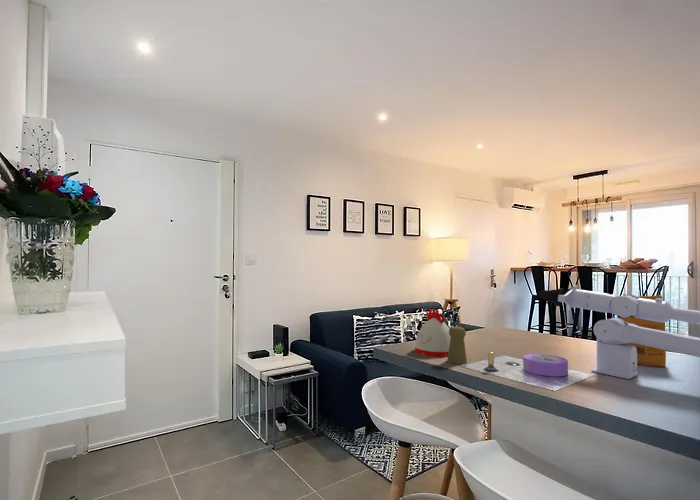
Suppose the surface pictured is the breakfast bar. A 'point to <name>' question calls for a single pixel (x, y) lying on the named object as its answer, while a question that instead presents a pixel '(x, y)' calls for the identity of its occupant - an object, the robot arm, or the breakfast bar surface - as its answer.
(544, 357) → the masking tape
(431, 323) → the kitchen timer
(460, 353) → the cork
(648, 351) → the coffee package
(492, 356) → the fixed brass pin
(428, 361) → the breakfast bar surface
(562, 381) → the light grey flat board
